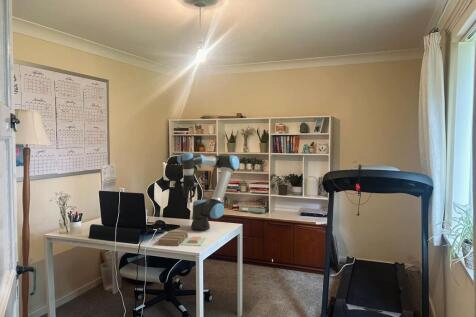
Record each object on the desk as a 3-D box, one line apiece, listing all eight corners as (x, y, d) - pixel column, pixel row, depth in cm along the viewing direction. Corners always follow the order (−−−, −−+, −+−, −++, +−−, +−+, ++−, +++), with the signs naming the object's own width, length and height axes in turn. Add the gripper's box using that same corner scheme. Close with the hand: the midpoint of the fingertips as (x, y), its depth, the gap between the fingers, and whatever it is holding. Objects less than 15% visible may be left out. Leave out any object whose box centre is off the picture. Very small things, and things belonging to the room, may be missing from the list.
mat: (188, 237, 254) (188, 237, 254) (207, 238, 252) (207, 237, 252) (180, 245, 237) (180, 244, 236) (200, 245, 234) (200, 245, 234)
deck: (169, 236, 258) (169, 230, 258) (187, 236, 256) (187, 231, 256) (158, 245, 237) (158, 239, 237) (178, 245, 235) (178, 240, 234)
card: (200, 236, 248) (200, 239, 248) (192, 236, 249) (192, 239, 249) (197, 240, 239) (197, 243, 239) (189, 240, 240) (189, 242, 240)
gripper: (178, 175, 245) (179, 208, 247) (196, 175, 244) (197, 208, 246) (180, 174, 253) (181, 205, 255) (198, 173, 252) (199, 205, 254)
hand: (189, 207), depth 250 cm, fingers closed
